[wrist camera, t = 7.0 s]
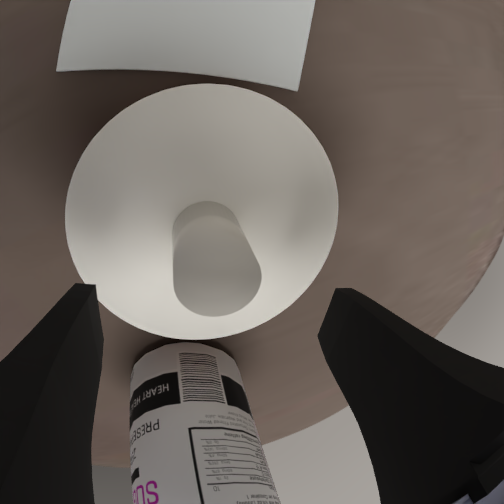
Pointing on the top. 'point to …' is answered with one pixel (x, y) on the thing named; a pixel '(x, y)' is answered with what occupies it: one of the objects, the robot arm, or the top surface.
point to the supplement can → (194, 431)
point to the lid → (201, 211)
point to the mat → (190, 38)
